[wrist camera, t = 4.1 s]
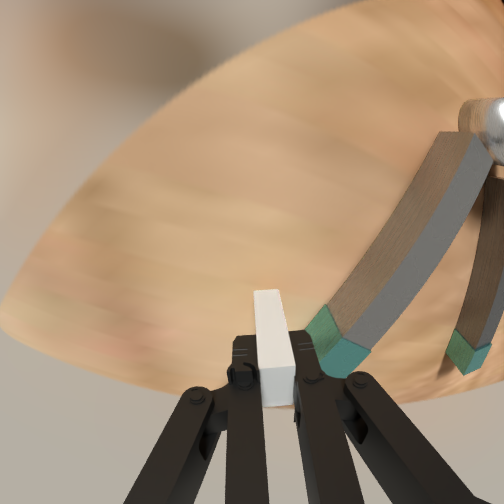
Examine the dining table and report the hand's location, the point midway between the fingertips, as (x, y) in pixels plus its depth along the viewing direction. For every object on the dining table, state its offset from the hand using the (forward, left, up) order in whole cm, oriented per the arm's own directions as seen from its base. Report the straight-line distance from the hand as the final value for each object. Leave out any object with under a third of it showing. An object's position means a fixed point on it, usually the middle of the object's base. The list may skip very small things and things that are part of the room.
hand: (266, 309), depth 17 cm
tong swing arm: (-11, -5, -1) cm, 12 cm away
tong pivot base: (-18, -3, -1) cm, 18 cm away
